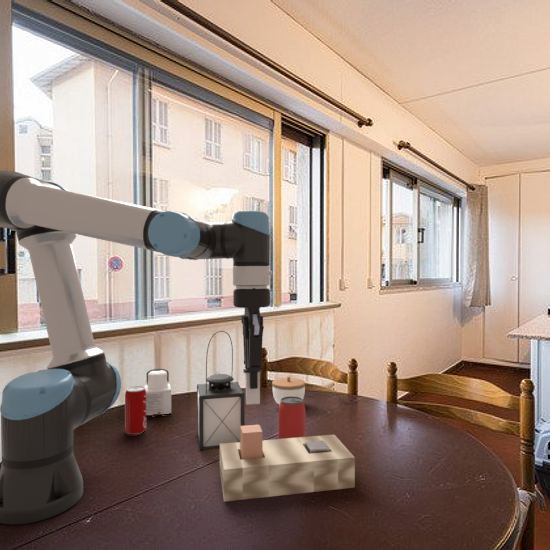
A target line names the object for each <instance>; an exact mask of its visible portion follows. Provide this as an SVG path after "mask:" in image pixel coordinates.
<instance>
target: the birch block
mask: <svg viewBox="0 0 550 550" xmlns="http://www.w3.org/2000/svg"><path fill="white" fill-rule="evenodd" d="M312 441H324V442H325V444H326V445H327V446H328V447H329V452H321V453H310V454H309V453H308V452H307V450H306V448H305V442H312ZM355 465H356V457H355V456H354V455H353V454H352V452H350V450H349V449H348V448H347V447H346V445H344V444H343V443H342V441H341V440H340V439H339V438H338V437H337V436H336V434H324V435H312V436H311V435H310V436H305V437H297V438H285V439H279V438H276V439H274V438H273V439H264V440H263V458H254V459H241V456H240V442H235V443H223V444H220V449H219V477H220V484H221V490H222V497H223V502H233V501H241V500H251V499H252V500H253V499H260V498H271V497H278V496H288V495H289V496H290V495H296V494H307V493H316V492H324V491H326V492H327V491H333V490H343V489H344V490H345V489H354V488H355V487H356V485H355V483H356V481H355V480H356V475H355V474H356V469H355V468H356V466H355Z"/></svg>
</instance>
